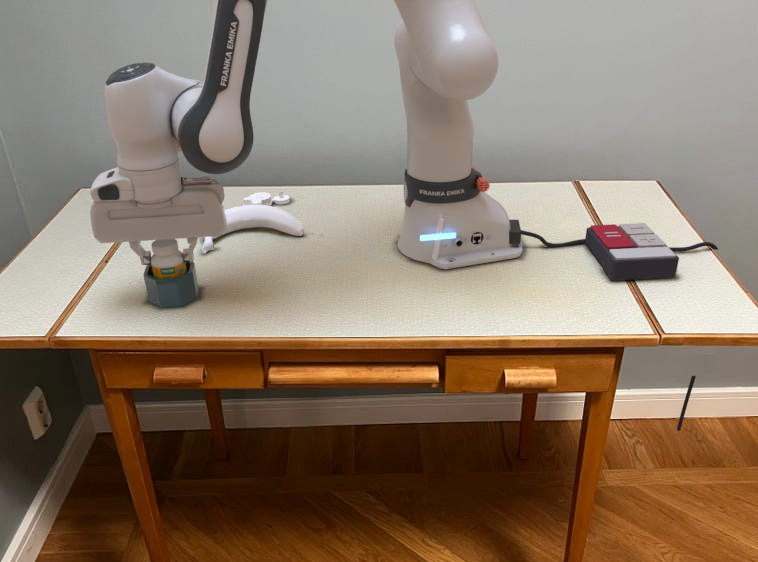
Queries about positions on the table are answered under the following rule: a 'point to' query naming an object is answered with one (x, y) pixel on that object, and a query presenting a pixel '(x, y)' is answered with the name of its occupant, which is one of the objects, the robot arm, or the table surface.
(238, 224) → the banana
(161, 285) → the holder
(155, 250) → the supplement bottle
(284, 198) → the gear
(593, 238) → the control box
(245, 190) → the table surface
